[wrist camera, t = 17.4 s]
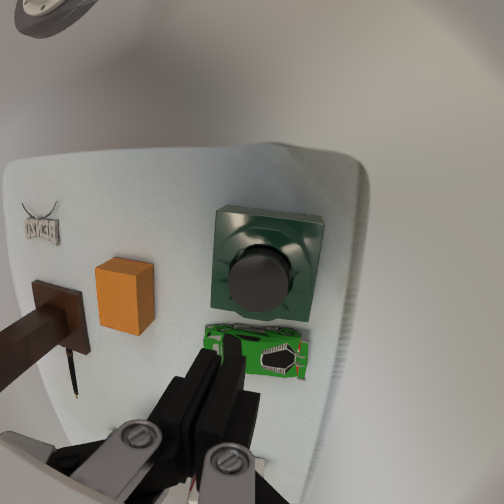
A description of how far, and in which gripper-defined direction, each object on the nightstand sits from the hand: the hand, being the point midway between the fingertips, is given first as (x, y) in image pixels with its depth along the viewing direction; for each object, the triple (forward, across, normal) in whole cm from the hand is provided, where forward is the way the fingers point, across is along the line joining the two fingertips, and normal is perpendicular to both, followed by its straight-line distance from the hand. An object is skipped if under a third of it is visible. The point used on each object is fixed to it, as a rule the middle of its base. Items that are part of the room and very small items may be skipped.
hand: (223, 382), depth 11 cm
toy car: (+17, 0, +9) cm, 19 cm away
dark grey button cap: (+12, 0, 0) cm, 12 cm away
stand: (+17, +24, +11) cm, 31 cm away
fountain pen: (+17, +25, +18) cm, 36 cm away
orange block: (+17, +13, +5) cm, 22 cm away
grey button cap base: (+17, 0, 0) cm, 17 cm away
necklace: (+16, +26, -1) cm, 31 cm away
